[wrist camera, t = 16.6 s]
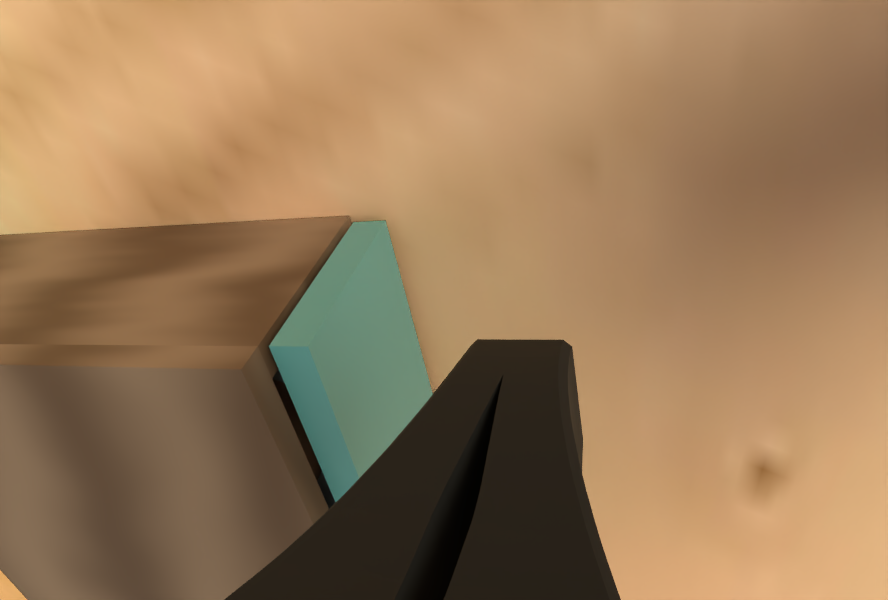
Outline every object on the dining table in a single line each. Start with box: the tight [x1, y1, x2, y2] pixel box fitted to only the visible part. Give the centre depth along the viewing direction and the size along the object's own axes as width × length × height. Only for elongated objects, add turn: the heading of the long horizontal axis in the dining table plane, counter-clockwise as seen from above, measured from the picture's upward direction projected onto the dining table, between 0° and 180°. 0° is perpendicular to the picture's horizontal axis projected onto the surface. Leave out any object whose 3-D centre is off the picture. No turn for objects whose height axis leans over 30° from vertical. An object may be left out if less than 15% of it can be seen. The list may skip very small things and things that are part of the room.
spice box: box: [0, 216, 352, 600], centre depth 25 cm, size 14×16×7 cm
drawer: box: [269, 221, 433, 509], centre depth 24 cm, size 14×16×6 cm
